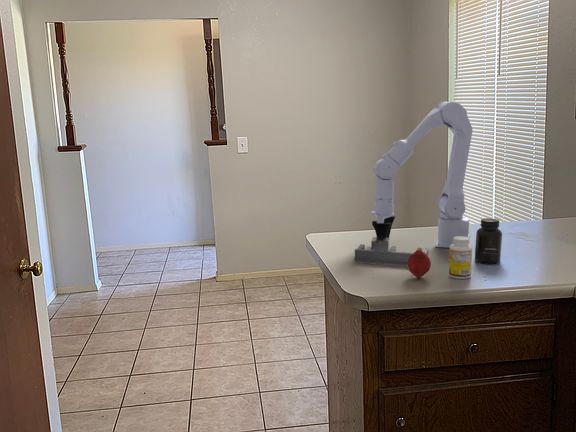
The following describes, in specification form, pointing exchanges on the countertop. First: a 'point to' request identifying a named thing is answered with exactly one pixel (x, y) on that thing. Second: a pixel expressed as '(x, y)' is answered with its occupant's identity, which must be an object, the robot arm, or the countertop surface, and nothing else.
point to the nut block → (380, 243)
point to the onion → (419, 263)
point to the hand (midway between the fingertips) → (383, 241)
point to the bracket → (383, 256)
